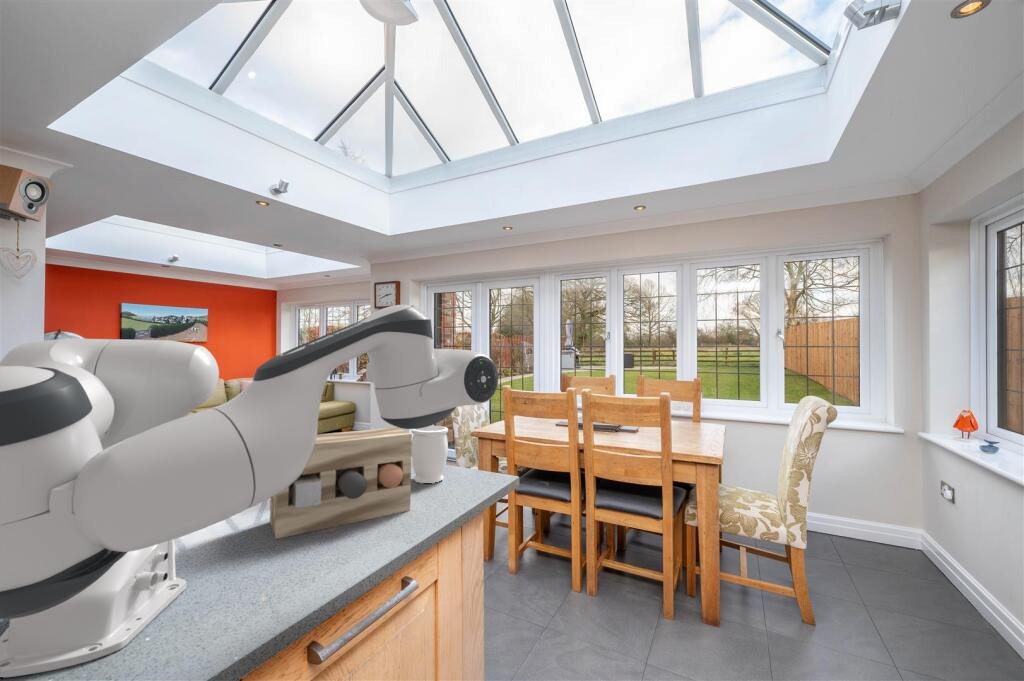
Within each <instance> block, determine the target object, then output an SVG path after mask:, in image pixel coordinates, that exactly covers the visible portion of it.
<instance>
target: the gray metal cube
mask: <svg viewBox="0 0 1024 681" xmlns="http://www.w3.org/2000/svg"><path fill="white" fill-rule="evenodd" d="M291 501H292V503H293V505H294V507H295V508H301V507H306V506H312V505H317V504H321V480H320V479H319V478H318V476H317V475H311V476H304V477H298V478H297V479H296V480H295V481H294V482H293V483H292V495H291Z"/></svg>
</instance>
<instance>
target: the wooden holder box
mask: <svg viewBox="0 0 1024 681" xmlns="http://www.w3.org/2000/svg"><path fill="white" fill-rule="evenodd" d="M412 438H413V433H412V432H411V433H410V432H408V431H406V430H405V429H404V430H403V428H399V427H396V426H394V427H386V428H385V427H384V428H383V427H382V428H375V429H374V428H373V429H363V430H351V431H342V432H331V433H320V434H319V433H318V434H317V437H316V442H315V446H314V449H313V452H312V455H311V457H310V459H309V462H308V464H307V465H306V467H305V469H304V470H303V472H302V473H301V475H300V476H299V477H304V476H311V475H317V476H318V478H319V479H320V480H321V504H317V505H312V506H306V507H301V508H295V507H294V505H293V503H292V501H291V495H292V484H291V485H289V486H288V487H287V488H285V489H284V490H282V491H281V492H279V493H278V494H276V495H274V496H272V497H271V498H270V502H269V503H270V506H269V510H270V511H269V523H271V524H270V526H271V529H272V531H273V535H274V537H275V539H276V540H277V539H282V538H286V537H291V536H296V535H300V534H306V533H311V532H314V531H319V530H324V529H328V528H333V527H337V526H338V527H339V526H343V525H347V524H352V523H357V522H360V521H361V522H362V521H366V520H370V519H376V518H380V517H385V516H389V515H395V514H399V513H404V512H409V511H411V484H412V483H411V482H412V457H411V445H412ZM389 462H392V463H393V464H395V465H396V466H398V467H400V468H401V470H402V472H403V478H402V480H401V482H400V483H399V485H397V486H396V487H394V488H387V487H385V486H384V485H383V484H381V483H380V482H379V481H378V480H377V468H378V464H382V463H389ZM347 469H354V470H356V471H357V472H359V473H360V474H361V475H362V476H363V477H364V478H365V479H366V481H367V488H366V491H365V492H364V494H363V495H362V496H360V497H358V498H356V499H350V498H347V497H346V496H345V495H344V494H343V493H342V492H341V491H340V490H339V488H338V487H337V479H338V476H339V475H340V474H341V473H342V472H343V471H345V470H347Z"/></svg>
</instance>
